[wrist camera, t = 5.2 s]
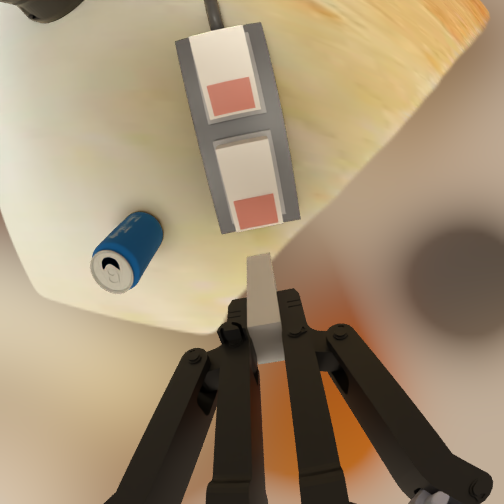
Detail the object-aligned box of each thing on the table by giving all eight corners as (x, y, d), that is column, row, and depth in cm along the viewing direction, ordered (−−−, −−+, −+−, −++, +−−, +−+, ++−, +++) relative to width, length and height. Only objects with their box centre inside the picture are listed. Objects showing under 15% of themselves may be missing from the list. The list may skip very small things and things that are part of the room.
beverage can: (161, 209, 37) (130, 247, 26) (166, 250, 40) (141, 298, 29) (121, 210, 37) (81, 247, 26) (128, 250, 40) (95, 294, 29)
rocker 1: (192, 39, 20) (188, 36, 18) (241, 27, 20) (242, 24, 18) (212, 115, 26) (210, 120, 24) (259, 105, 26) (261, 109, 24)
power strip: (174, 14, 24) (164, 0, 19) (249, -3, 23) (250, -19, 19) (224, 222, 38) (221, 238, 33) (295, 208, 37) (302, 222, 33)
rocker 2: (217, 145, 26) (215, 150, 24) (265, 135, 26) (268, 139, 24) (236, 222, 31) (236, 233, 29) (280, 213, 31) (283, 224, 29)
